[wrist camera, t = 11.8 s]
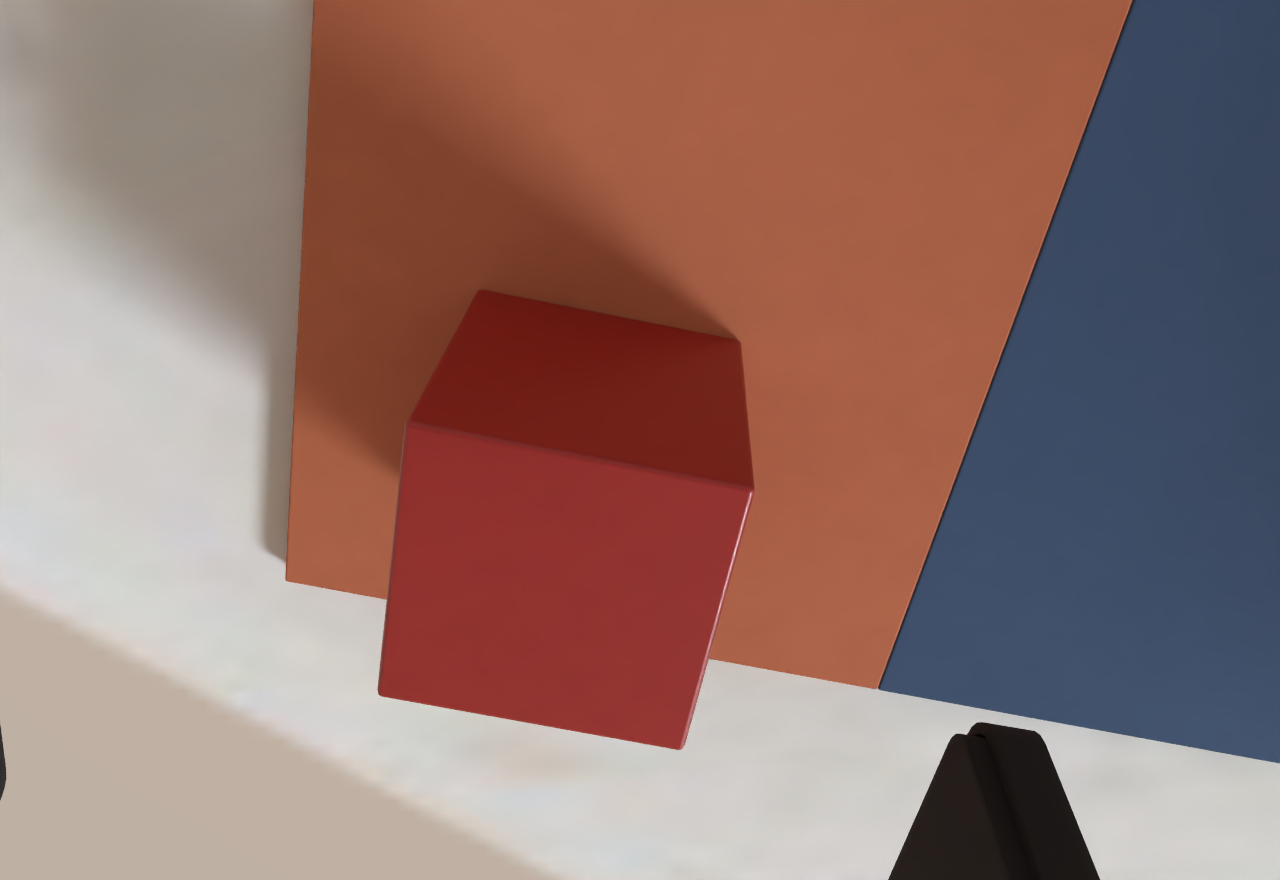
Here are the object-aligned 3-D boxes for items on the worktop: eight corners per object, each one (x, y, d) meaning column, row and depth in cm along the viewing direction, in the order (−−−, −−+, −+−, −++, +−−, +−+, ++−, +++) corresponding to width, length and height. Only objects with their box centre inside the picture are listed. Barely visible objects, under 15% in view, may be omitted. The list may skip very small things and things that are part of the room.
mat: (291, 569, 21) (284, 581, 21) (393, -1381, 11) (382, -1427, 10) (1431, 779, 22) (1444, 794, 22) (2554, -816, 12) (2613, -839, 11)
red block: (448, 514, 20) (375, 697, 15) (477, 287, 18) (403, 421, 13) (687, 559, 20) (683, 753, 15) (742, 338, 18) (756, 488, 13)
